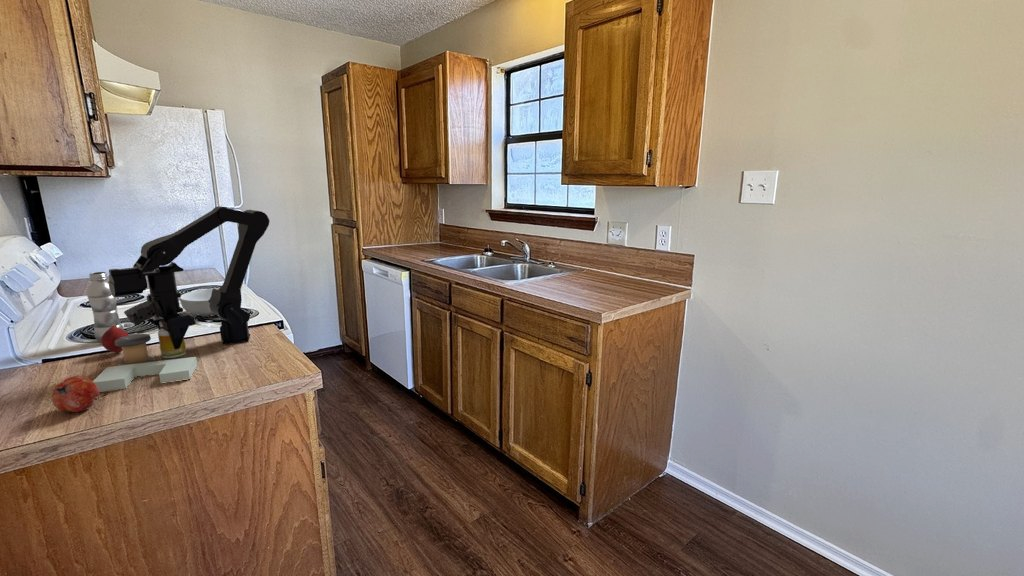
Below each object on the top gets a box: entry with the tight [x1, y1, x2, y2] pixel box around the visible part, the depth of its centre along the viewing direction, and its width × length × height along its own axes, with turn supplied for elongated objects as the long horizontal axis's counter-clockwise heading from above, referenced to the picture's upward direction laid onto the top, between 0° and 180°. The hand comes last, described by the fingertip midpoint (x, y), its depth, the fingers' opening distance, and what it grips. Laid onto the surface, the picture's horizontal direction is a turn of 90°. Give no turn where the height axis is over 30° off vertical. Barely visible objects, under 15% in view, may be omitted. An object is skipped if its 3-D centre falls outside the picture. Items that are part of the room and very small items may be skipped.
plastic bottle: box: [85, 271, 125, 343], centre depth 132 cm, size 6×7×20 cm
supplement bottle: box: [157, 321, 187, 359], centre depth 124 cm, size 5×5×10 cm
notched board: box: [92, 356, 198, 393], centre depth 111 cm, size 18×9×2 cm, turn 114°
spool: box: [115, 333, 156, 366], centre depth 118 cm, size 7×7×7 cm
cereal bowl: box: [179, 287, 220, 317], centre depth 161 cm, size 17×17×7 cm
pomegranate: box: [51, 375, 100, 413], centre depth 96 cm, size 7×7×10 cm
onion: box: [100, 325, 130, 354], centre depth 125 cm, size 6×6×8 cm
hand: (172, 346), depth 124 cm, fingers closed on supplement bottle, 5 cm apart
